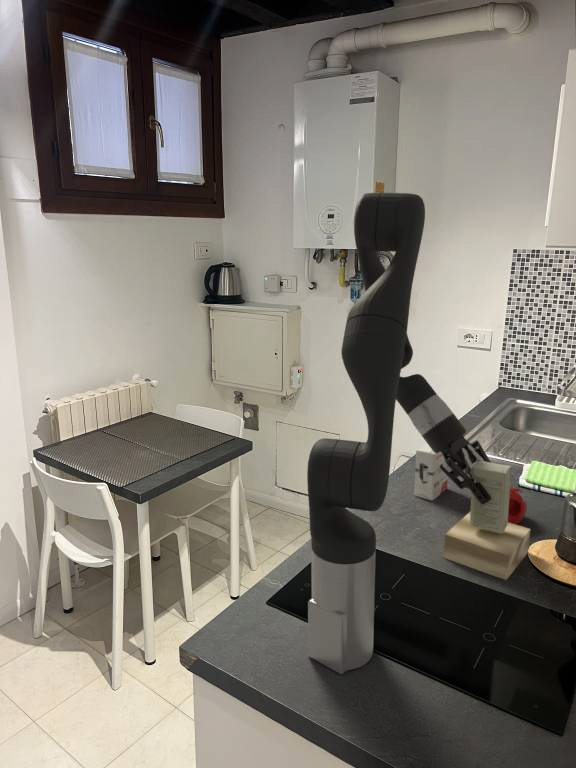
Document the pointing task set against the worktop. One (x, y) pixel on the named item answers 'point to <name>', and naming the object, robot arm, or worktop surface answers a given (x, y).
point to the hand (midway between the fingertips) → (492, 496)
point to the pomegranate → (516, 507)
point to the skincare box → (498, 488)
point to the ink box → (429, 474)
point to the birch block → (487, 547)
